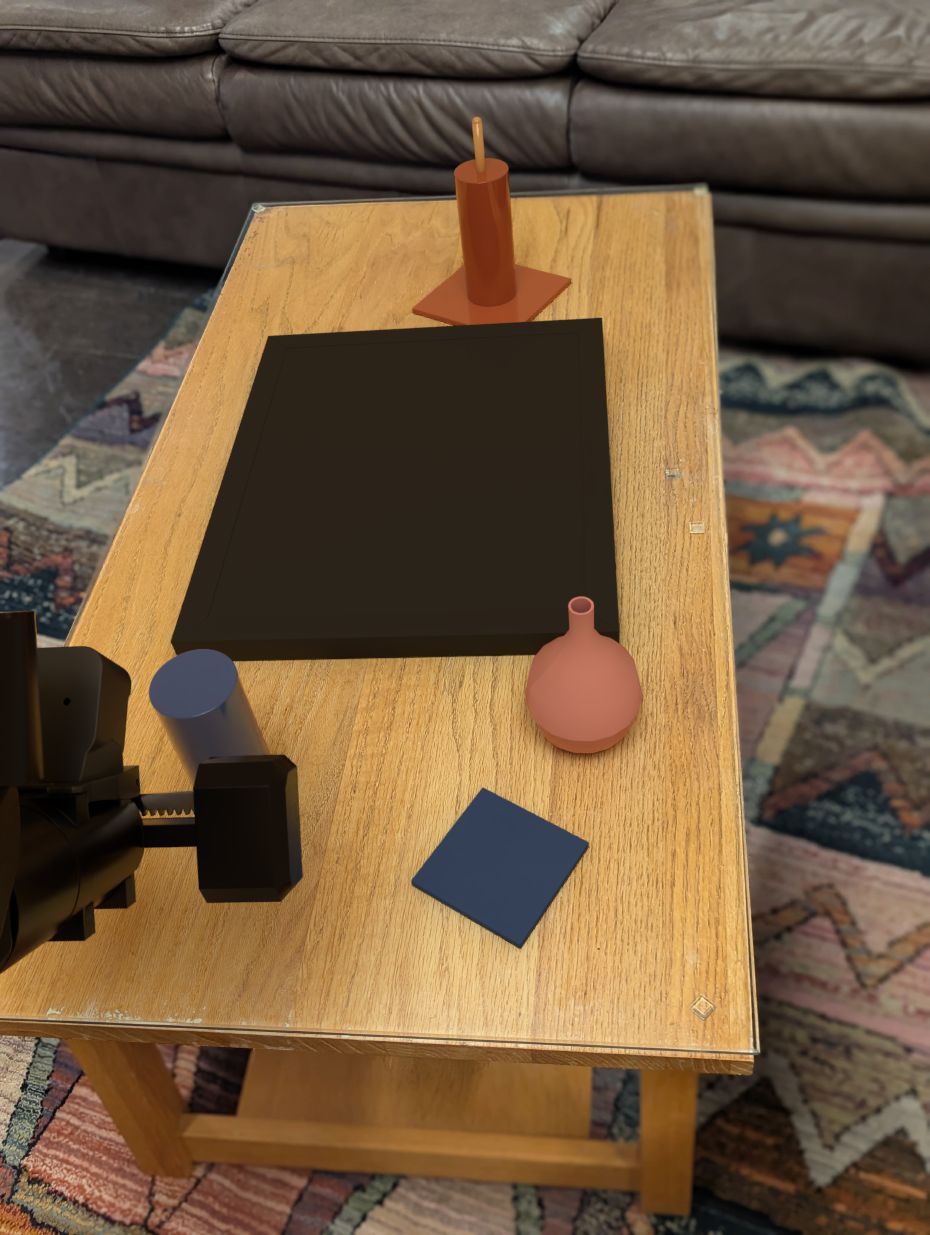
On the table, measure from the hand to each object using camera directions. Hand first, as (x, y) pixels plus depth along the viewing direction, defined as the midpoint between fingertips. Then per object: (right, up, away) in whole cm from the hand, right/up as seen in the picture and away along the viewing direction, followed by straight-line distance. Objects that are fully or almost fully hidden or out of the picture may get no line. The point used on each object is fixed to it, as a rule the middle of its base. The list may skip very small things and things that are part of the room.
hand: (160, 794), depth 57 cm
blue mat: (+18, -6, +10) cm, 22 cm away
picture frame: (+12, +21, +37) cm, 44 cm away
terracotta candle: (+19, +43, +55) cm, 72 cm away
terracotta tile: (+19, +43, +55) cm, 72 cm away
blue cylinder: (+2, -3, +15) cm, 16 cm away
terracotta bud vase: (+24, +2, +17) cm, 30 cm away
